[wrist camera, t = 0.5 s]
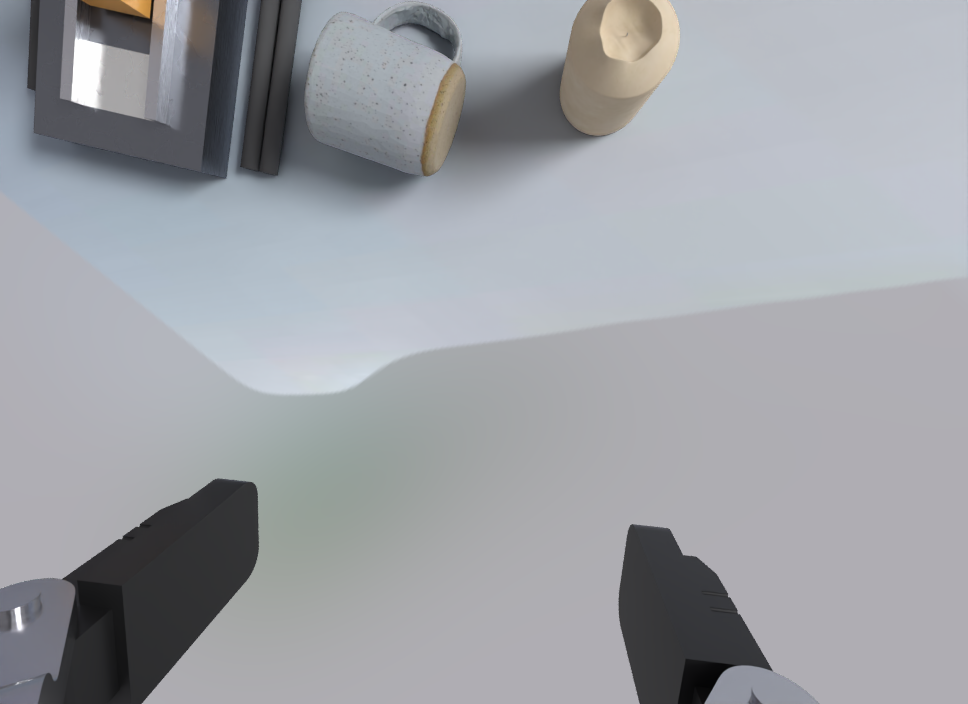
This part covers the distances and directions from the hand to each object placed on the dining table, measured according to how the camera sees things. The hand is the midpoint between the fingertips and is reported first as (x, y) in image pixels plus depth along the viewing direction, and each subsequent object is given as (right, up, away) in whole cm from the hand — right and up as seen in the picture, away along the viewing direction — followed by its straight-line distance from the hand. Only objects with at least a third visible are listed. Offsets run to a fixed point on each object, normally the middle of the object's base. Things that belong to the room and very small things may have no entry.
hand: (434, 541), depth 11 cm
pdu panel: (-21, +28, +25) cm, 43 cm away
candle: (+9, +21, +24) cm, 33 cm away
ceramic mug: (-4, +22, +25) cm, 33 cm away
